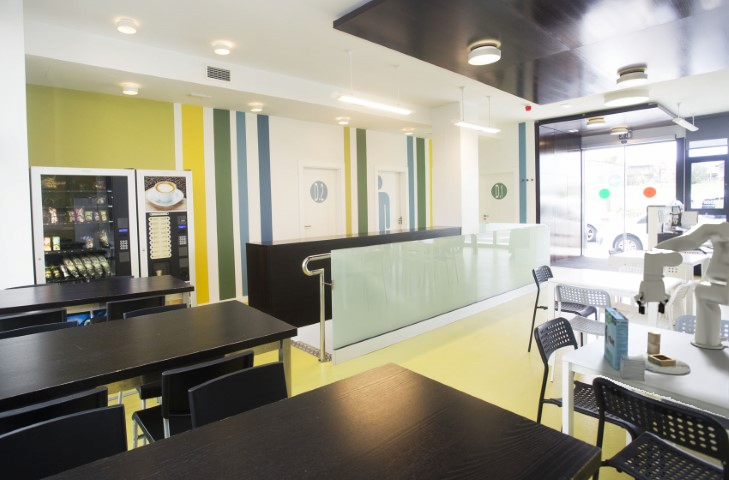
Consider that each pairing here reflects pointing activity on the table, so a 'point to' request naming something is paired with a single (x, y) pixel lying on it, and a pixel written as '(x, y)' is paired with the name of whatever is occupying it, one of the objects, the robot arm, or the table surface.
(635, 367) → the medicine box
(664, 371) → the rosette plate
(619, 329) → the gum box
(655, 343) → the tan block
